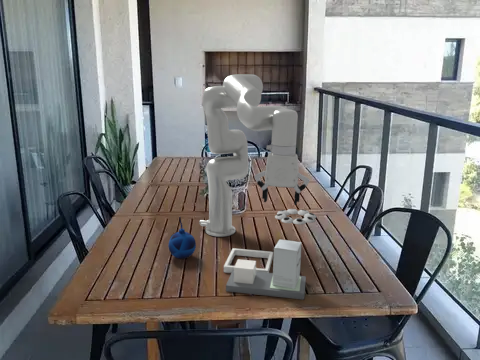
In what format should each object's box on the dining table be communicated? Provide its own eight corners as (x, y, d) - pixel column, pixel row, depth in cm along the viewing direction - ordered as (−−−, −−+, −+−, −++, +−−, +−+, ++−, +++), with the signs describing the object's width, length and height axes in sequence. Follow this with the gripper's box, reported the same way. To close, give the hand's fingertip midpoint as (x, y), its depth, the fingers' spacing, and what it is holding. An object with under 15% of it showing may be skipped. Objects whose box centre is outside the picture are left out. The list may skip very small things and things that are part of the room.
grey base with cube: (225, 291, 131) (226, 270, 130) (233, 274, 142) (233, 255, 140) (304, 299, 127) (305, 278, 125) (305, 281, 138) (306, 262, 136)
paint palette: (302, 228, 184) (302, 224, 184) (266, 218, 196) (266, 214, 196) (324, 217, 198) (325, 213, 198) (289, 208, 211) (290, 204, 210)
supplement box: (295, 289, 129) (297, 251, 125) (271, 285, 131) (273, 247, 128) (300, 278, 135) (302, 241, 132) (277, 274, 138) (279, 238, 134)
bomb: (189, 248, 162) (188, 211, 158) (200, 260, 152) (199, 220, 148) (164, 253, 157) (163, 215, 153) (173, 265, 148) (172, 225, 144)
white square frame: (223, 272, 144) (223, 266, 143) (232, 253, 158) (232, 248, 157) (267, 276, 141) (267, 270, 140) (272, 257, 155) (272, 251, 154)
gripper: (253, 150, 129) (251, 203, 134) (311, 154, 126) (307, 208, 130) (257, 145, 136) (255, 196, 141) (312, 149, 133) (308, 201, 138)
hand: (280, 202), depth 136 cm, fingers open, 9 cm apart
